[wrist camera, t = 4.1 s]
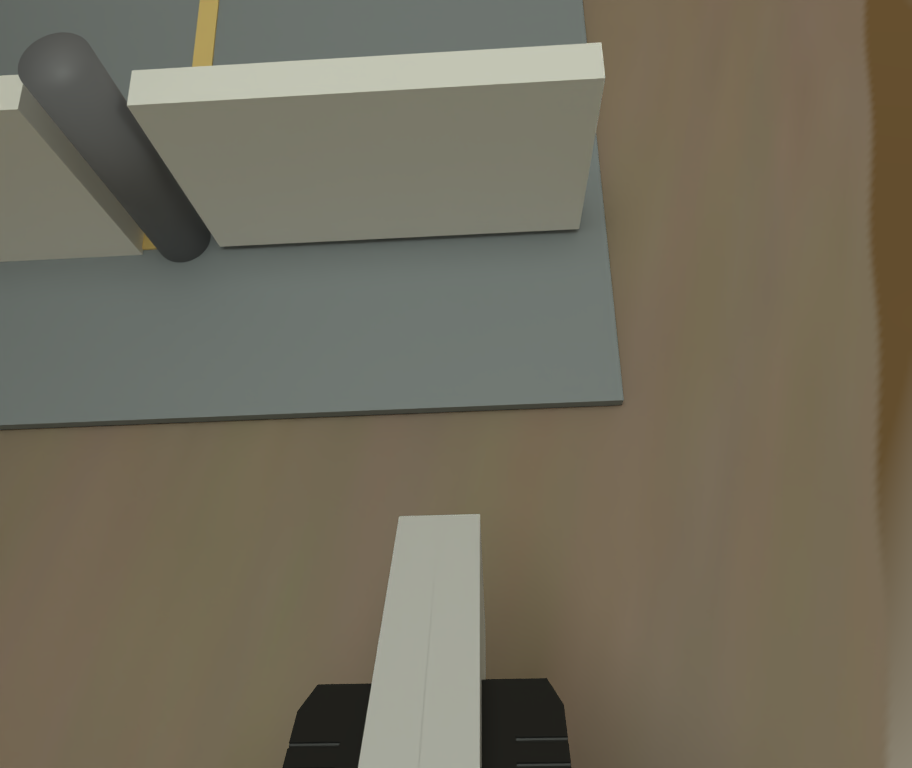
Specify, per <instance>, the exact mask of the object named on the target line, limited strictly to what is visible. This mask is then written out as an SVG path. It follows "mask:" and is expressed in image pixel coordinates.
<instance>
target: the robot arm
mask: <svg viewBox="0 0 912 768" xmlns="http://www.w3.org/2000/svg"><path fill="white" fill-rule="evenodd" d="M283 768H571V760H570V752H569V744H568V736H567V728H566V720H565V711H564V705H563V703H562V701H561V700H560V698H559V697H558V695H557V694H556V692H555V691H554V689H553V687H552V686H551V684H550V683H549V681H548V680H547V678H539V679H486V650H485V612H484V591H483V570H482V549H481V528H480V514H464V515H429V516H399V521H398V527H397V533H396V539H395V545H394V551H393V557H392V563H391V569H390V575H389V581H388V588H387V594H386V600H385V606H384V612H383V618H382V624H381V630H380V636H379V642H378V648H377V655H376V661H375V667H374V673H373V679H372V684H325V685H317V686H316V688H315V689H314V690H313V692H312V693H311V694H310V696H309V697H308V698H307V700H306V701H305V702H304V704H303V705H302V706H301V707H300V709H299V710H298V711H297V715H296V719H295V723H294V726H293V730H292V734H291V738H290V742H289V748H288V749H287V753H286V757H285V760H284V764H283Z"/></svg>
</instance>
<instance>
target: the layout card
mask: <svg viewBox="0 0 912 768" xmlns="http://www.w3.org/2000/svg"><path fill="white" fill-rule="evenodd" d="M60 32H67V33H73V34H77V35H79V36H81V37H83V38H84V39H85V40H86V41H87V42H88V43H89V45H90V46H91V48H92V49H93V51H94V52H95V54H96V55H97V57H98V58H99V60H100V61H101V63H102V64H103V66H104V67H105V69H106V71H107V72H108V74H109V75H110V77H111V78H112V80H113V81H114V83H115V84H116V86H117V87H118V89H119V90H120V92H121V93H122V95H123V96H124V98H125V100H126V101H127V100H128V94H129V87H130V80H131V73H132V70H148V69H165V68H181V67H198V66H215V65H232V64H249V63H266V62H282V61H299V60H316V59H333V58H350V57H366V56H383V55H400V54H417V53H434V52H450V51H467V50H484V49H501V48H518V47H534V46H551V45H568V44H585V43H587V40H586V31H585V21H584V11H583V2H582V0H0V76H2V75H18V63H19V60H20V58H21V56H22V54H23V53H24V51H25V50H26V49H27V48H28V47H29V46H30V45H31V44H32V43H33V42H35V41H36V40H38V39H40V38H42V37H44V36H46V35H49V34H53V33H60ZM142 249H143V255H129V256H109V257H89V258H68V259H48V260H28V261H7V262H0V430H6V429H31V428H56V427H81V426H106V425H132V424H157V423H182V422H207V421H232V420H257V419H282V418H307V417H333V416H358V415H383V414H408V413H433V412H458V411H483V410H508V409H534V408H559V407H584V406H609V405H622V403H623V400H624V399H623V389H622V380H621V370H620V360H619V351H618V341H617V331H616V322H615V312H614V302H613V293H612V283H611V273H610V263H609V254H608V244H607V234H606V225H605V215H604V205H603V196H602V186H601V176H600V166H599V157H598V147H597V137H596V134H595V140H594V146H593V152H592V157H591V163H590V169H589V175H588V180H587V186H586V192H585V198H584V203H583V209H582V215H581V221H580V227H579V229H569V230H549V231H529V232H508V233H488V234H468V235H448V236H427V237H407V238H387V239H367V240H347V241H326V242H306V243H286V244H266V245H245V246H225V247H220V246H219V245H218V243H217V242H216V240H215V239H214V237H213V236H212V234H211V238H210V242H209V245H208V247H207V248H206V250H205V251H204V252H203V253H202V254H201V255H200V256H199V257H197V258H195V259H193V260H191V261H188V262H173V261H170V260H168V259H166V258H165V257H163V256H162V254H161V253H160V252H159V251H158V249H157V248H156V247H155V246H154V245H153V243H152V242H151V241H150V240H149V238H148V237H147V236H146V235H145V233H144V237H143V244H142Z"/></svg>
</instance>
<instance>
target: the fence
mask: <svg viewBox="0 0 912 768" xmlns="http://www.w3.org/2000/svg"><path fill="white" fill-rule="evenodd" d="M144 233H145V235H146V236H147V237H148V238H149V240H150V241H151V242H152V243H153V245H154V246H155V247H156V248H157V249H158V251H159V252H160V253H161V254H162V256H163V257H165V258H166V259H168V260H170V261H173V262H188V261H191V260H193V259H195V258H197V257H199V256H200V255H201V254H202V253H203V252H204V251H205V250H206V248H207V247H208V245H209V242H210V238H211V233H210V231H209V230H208V228H207V226H206V225H205V223H204V222H203V220H202V219H201V217H200V216H199V214H198V213H197V211H196V210H195V208H194V207H193V205H192V204H191V202H190V201H189V199H188V198H187V196H186V195H185V193H184V192H183V190H182V189H181V187H180V186H179V184H178V183H177V181H176V179H175V178H174V176H173V175H172V173H171V172H170V170H169V169H168V167H167V166H166V164H165V163H164V161H163V160H162V158H161V157H160V155H159V154H158V152H157V151H156V149H155V148H154V146H153V145H152V143H151V142H150V140H149V139H148V137H147V136H146V134H145V133H144V131H143V129H142V128H141V126H140V125H139V123H138V122H137V120H136V119H135V117H134V116H133V114H132V113H131V111H130V110H129V108H128V107H127V101H126V100H125V98H124V96H123V95H122V93H121V92H120V90H119V89H118V87H117V86H116V84H115V83H114V81H113V80H112V78H111V77H110V75H109V74H108V72H107V71H106V69H105V67H104V66H103V64H102V63H101V61H100V60H99V58H98V57H97V55H96V54H95V52H94V51H93V49H92V48H91V46H90V45H89V43H88V42H87V41H86V40H85V39H84V38H83V37H81V36H79V35H77V34H73V33H67V32H60V33H53V34H49V35H46V36H44V37H42V38H40V39H38V40H36V41H35V42H33V43H32V44H31V45H30V46H29V47H28V48H27V49H26V50H25V51H24V53H23V54H22V56H21V58H20V60H19V63H18V75H2V76H0V262H7V261H28V260H48V259H68V258H89V257H109V256H129V255H143V249H142V244H143V237H144Z"/></svg>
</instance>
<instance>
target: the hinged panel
mask: <svg viewBox="0 0 912 768" xmlns="http://www.w3.org/2000/svg"><path fill="white" fill-rule="evenodd" d="M604 82H605V72H604V63H603V54H602V45H601V43H585V44H568V45H551V46H534V47H518V48H501V49H484V50H467V51H450V52H434V53H417V54H400V55H383V56H366V57H350V58H333V59H316V60H299V61H282V62H266V63H249V64H232V65H215V66H198V67H181V68H165V69H148V70H132V73H131V80H130V87H129V94H128V100H127V107H128V108H129V110H130V111H131V113H132V114H133V116H134V117H135V119H136V120H137V122H138V123H139V125H140V126H141V128H142V129H143V131H144V133H145V134H146V136H147V137H148V139H149V140H150V142H151V143H152V145H153V146H154V148H155V149H156V151H157V152H158V154H159V155H160V157H161V158H162V160H163V161H164V163H165V164H166V166H167V167H168V169H169V170H170V172H171V173H172V175H173V176H174V178H175V179H176V181H177V183H178V184H179V186H180V187H181V189H182V190H183V192H184V193H185V195H186V196H187V198H188V199H189V201H190V202H191V204H192V205H193V207H194V208H195V210H196V211H197V213H198V214H199V216H200V217H201V219H202V220H203V222H204V223H205V225H206V226H207V228H208V230H209V231H210V233H211V234H212V236H213V237H214V239H215V240H216V242H217V243H218V245H219V246H220V247H225V246H245V245H266V244H286V243H306V242H326V241H347V240H367V239H387V238H407V237H427V236H448V235H468V234H488V233H508V232H529V231H549V230H569V229H579V227H580V221H581V215H582V209H583V203H584V198H585V192H586V186H587V180H588V175H589V169H590V163H591V157H592V152H593V146H594V140H595V134H596V128H597V123H598V117H599V111H600V105H601V100H602V94H603V88H604Z"/></svg>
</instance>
